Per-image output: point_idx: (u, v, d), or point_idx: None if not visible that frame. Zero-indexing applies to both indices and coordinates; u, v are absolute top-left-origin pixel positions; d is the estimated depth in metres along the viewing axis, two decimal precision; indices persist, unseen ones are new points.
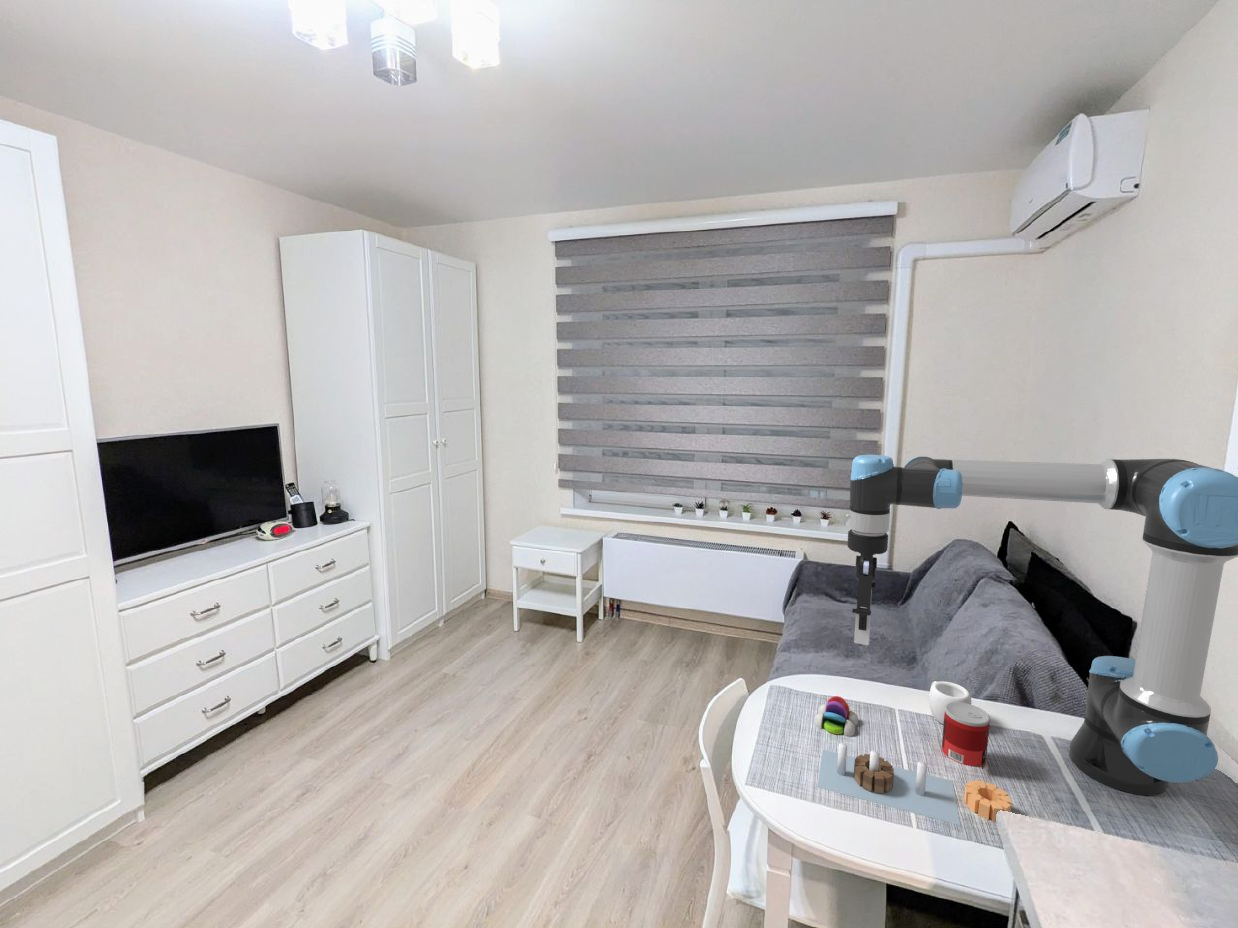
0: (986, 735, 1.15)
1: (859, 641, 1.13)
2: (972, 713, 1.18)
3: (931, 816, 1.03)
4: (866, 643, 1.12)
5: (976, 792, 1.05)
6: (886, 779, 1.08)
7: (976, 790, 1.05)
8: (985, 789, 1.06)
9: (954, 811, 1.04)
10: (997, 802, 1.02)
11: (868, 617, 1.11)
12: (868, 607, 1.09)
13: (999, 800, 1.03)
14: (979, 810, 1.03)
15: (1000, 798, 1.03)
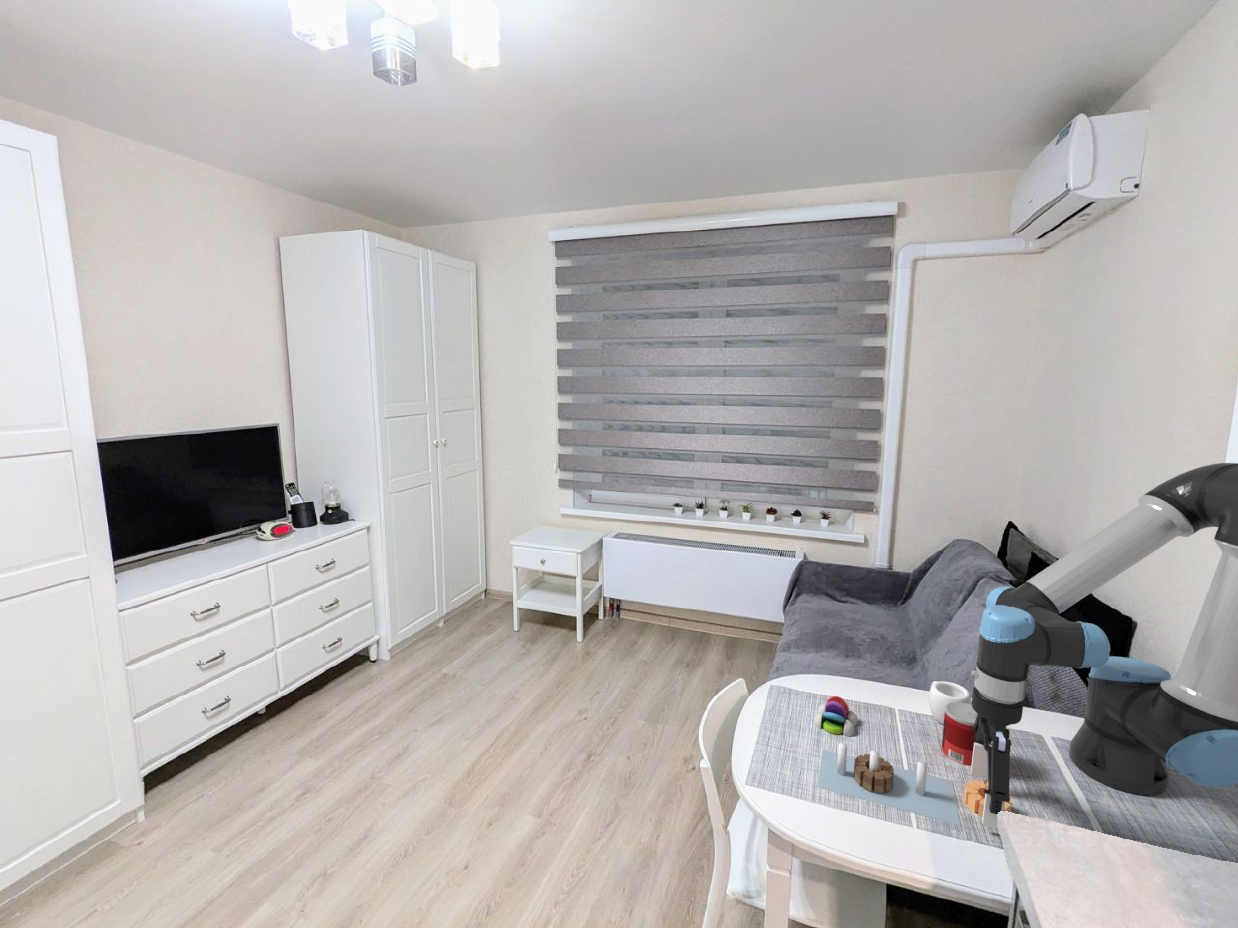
0: None
1: (989, 824, 0.98)
2: (972, 713, 1.18)
3: (931, 816, 1.03)
4: None
5: (976, 792, 1.05)
6: (886, 779, 1.08)
7: (976, 790, 1.05)
8: None
9: (954, 811, 1.04)
10: None
11: None
12: (1006, 793, 0.94)
13: None
14: (979, 810, 1.03)
15: None
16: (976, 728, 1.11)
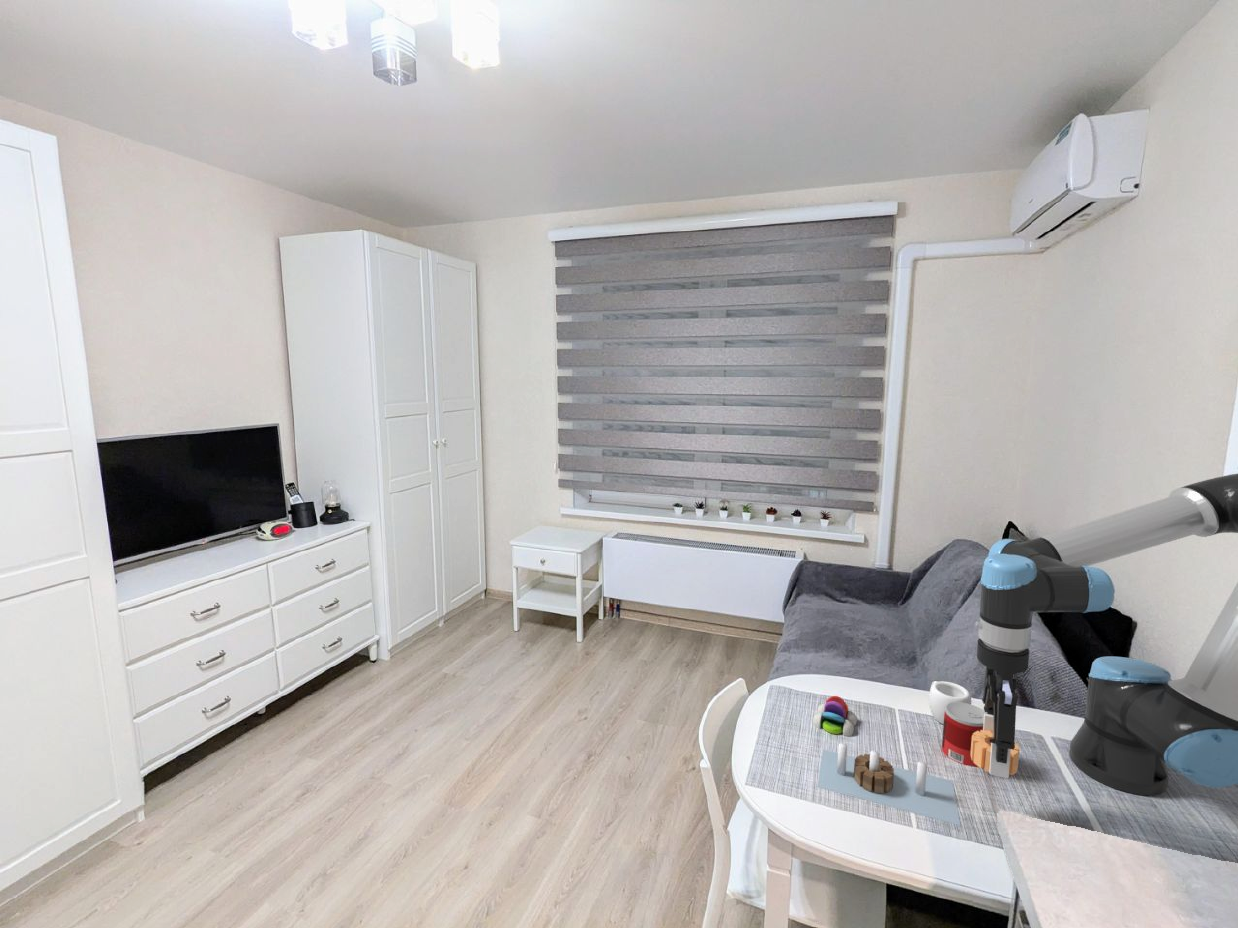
0: None
1: (996, 773, 1.00)
2: (972, 713, 1.18)
3: (931, 816, 1.03)
4: (1005, 776, 0.99)
5: (983, 741, 1.03)
6: (886, 779, 1.08)
7: (983, 739, 1.04)
8: (992, 738, 1.04)
9: (954, 811, 1.04)
10: None
11: None
12: (1012, 742, 0.95)
13: None
14: (986, 758, 1.01)
15: None
16: (985, 696, 1.08)
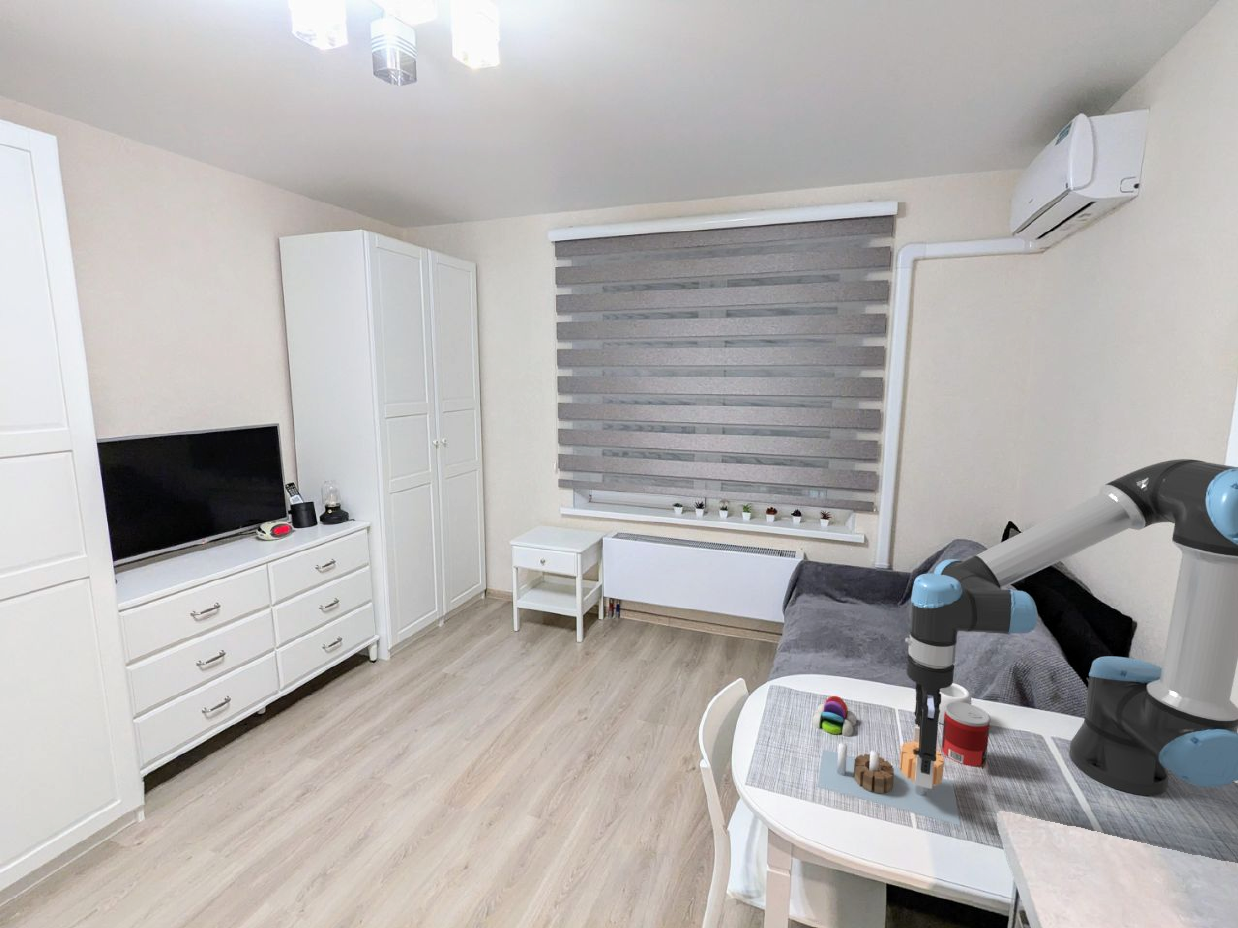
0: (986, 735, 1.15)
1: (921, 783, 1.04)
2: (972, 713, 1.18)
3: (931, 816, 1.03)
4: (929, 786, 1.03)
5: (911, 752, 1.08)
6: (886, 779, 1.08)
7: (911, 750, 1.08)
8: None
9: (954, 811, 1.04)
10: None
11: None
12: (933, 754, 1.00)
13: None
14: (912, 768, 1.05)
15: None
16: (917, 709, 1.12)
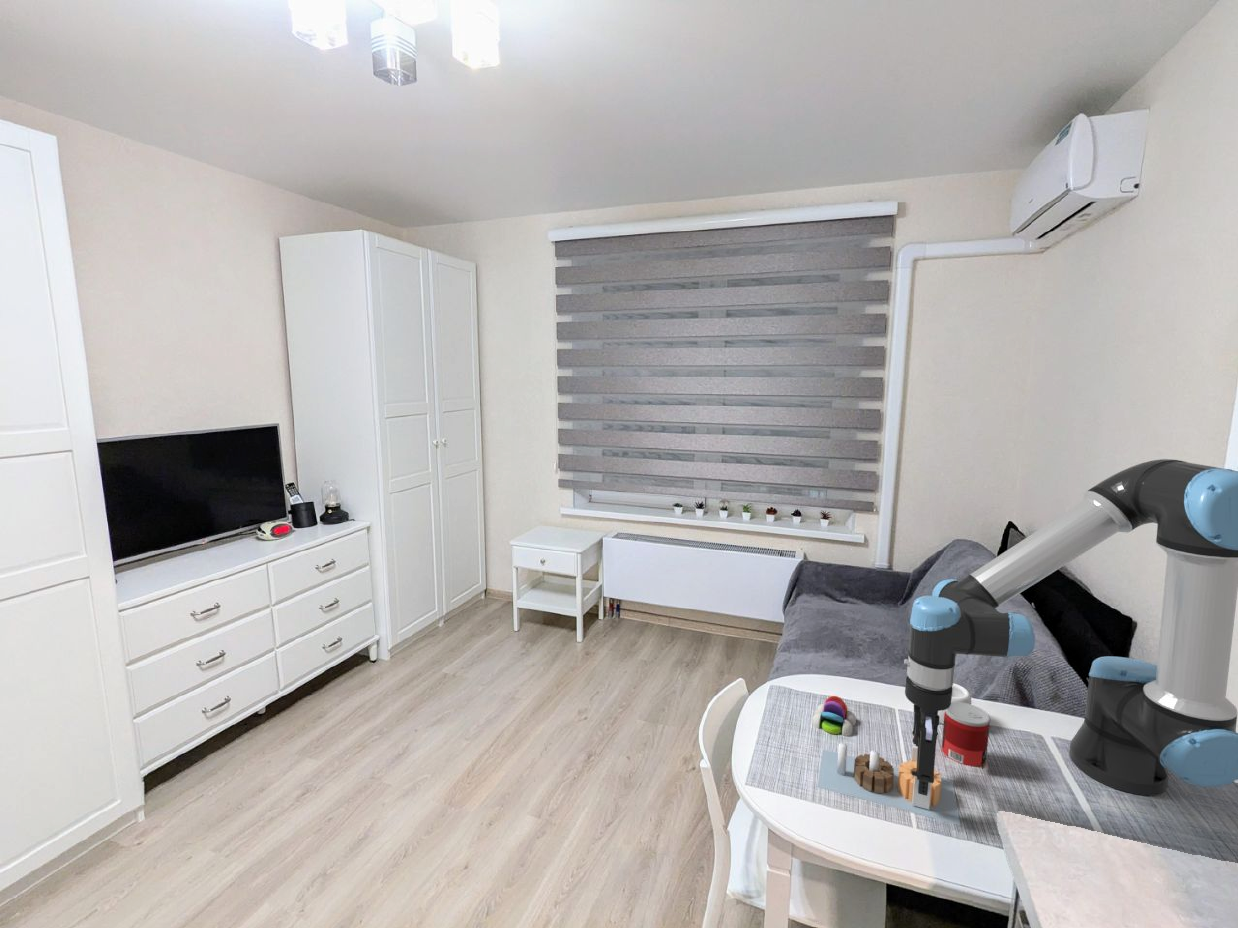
0: (986, 735, 1.15)
1: (918, 804, 1.05)
2: (972, 713, 1.18)
3: (931, 816, 1.03)
4: (926, 807, 1.04)
5: (908, 772, 1.08)
6: (886, 779, 1.08)
7: (909, 770, 1.09)
8: None
9: (954, 811, 1.04)
10: None
11: None
12: (931, 776, 1.00)
13: None
14: (910, 789, 1.06)
15: None
16: (915, 728, 1.13)
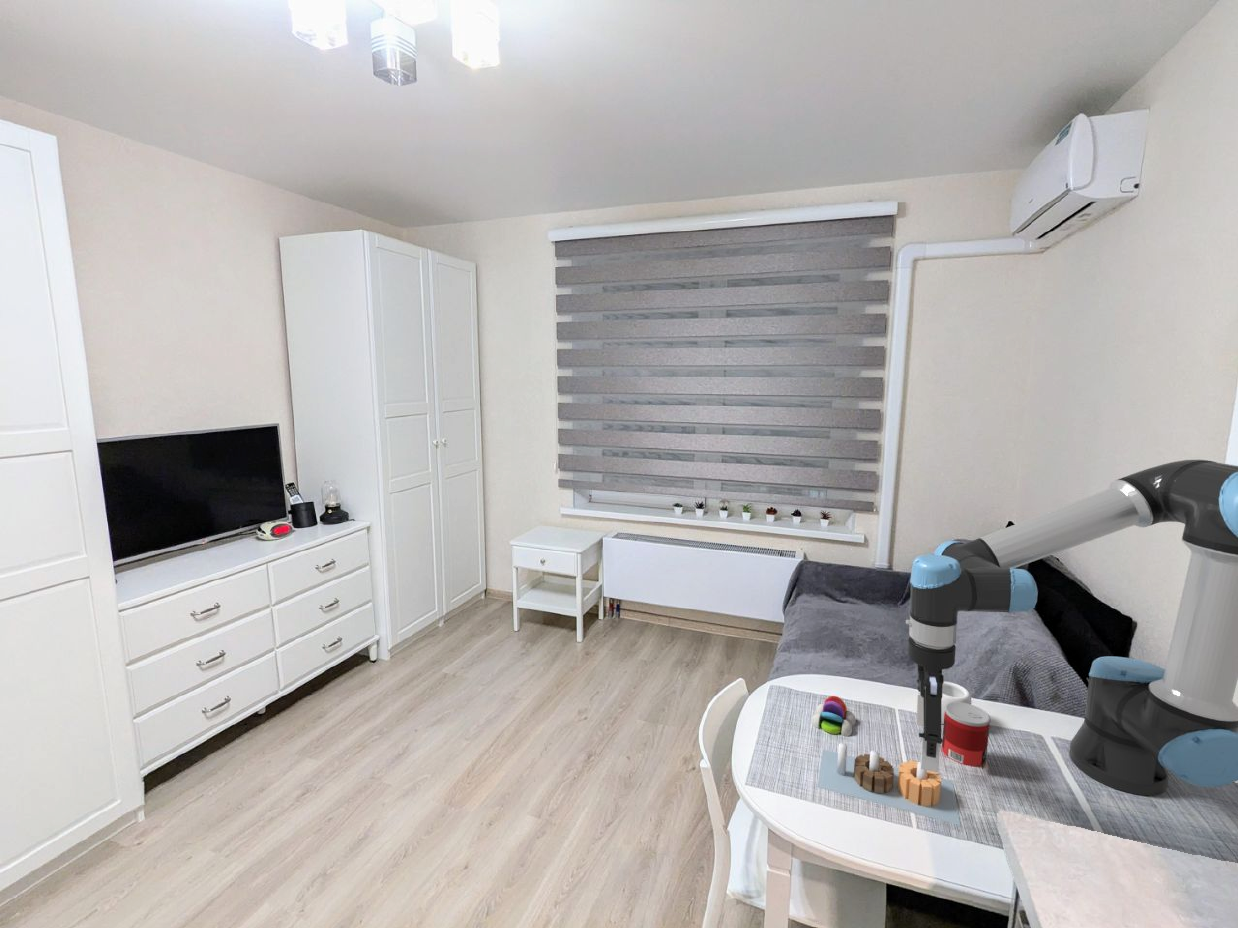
0: (986, 735, 1.15)
1: (927, 767, 1.00)
2: (972, 713, 1.18)
3: (931, 816, 1.03)
4: (935, 770, 1.00)
5: (908, 772, 1.08)
6: (886, 779, 1.08)
7: (909, 770, 1.09)
8: None
9: (954, 811, 1.04)
10: (927, 781, 1.06)
11: None
12: (939, 734, 0.96)
13: (929, 779, 1.06)
14: (910, 789, 1.06)
15: (931, 777, 1.07)
16: None
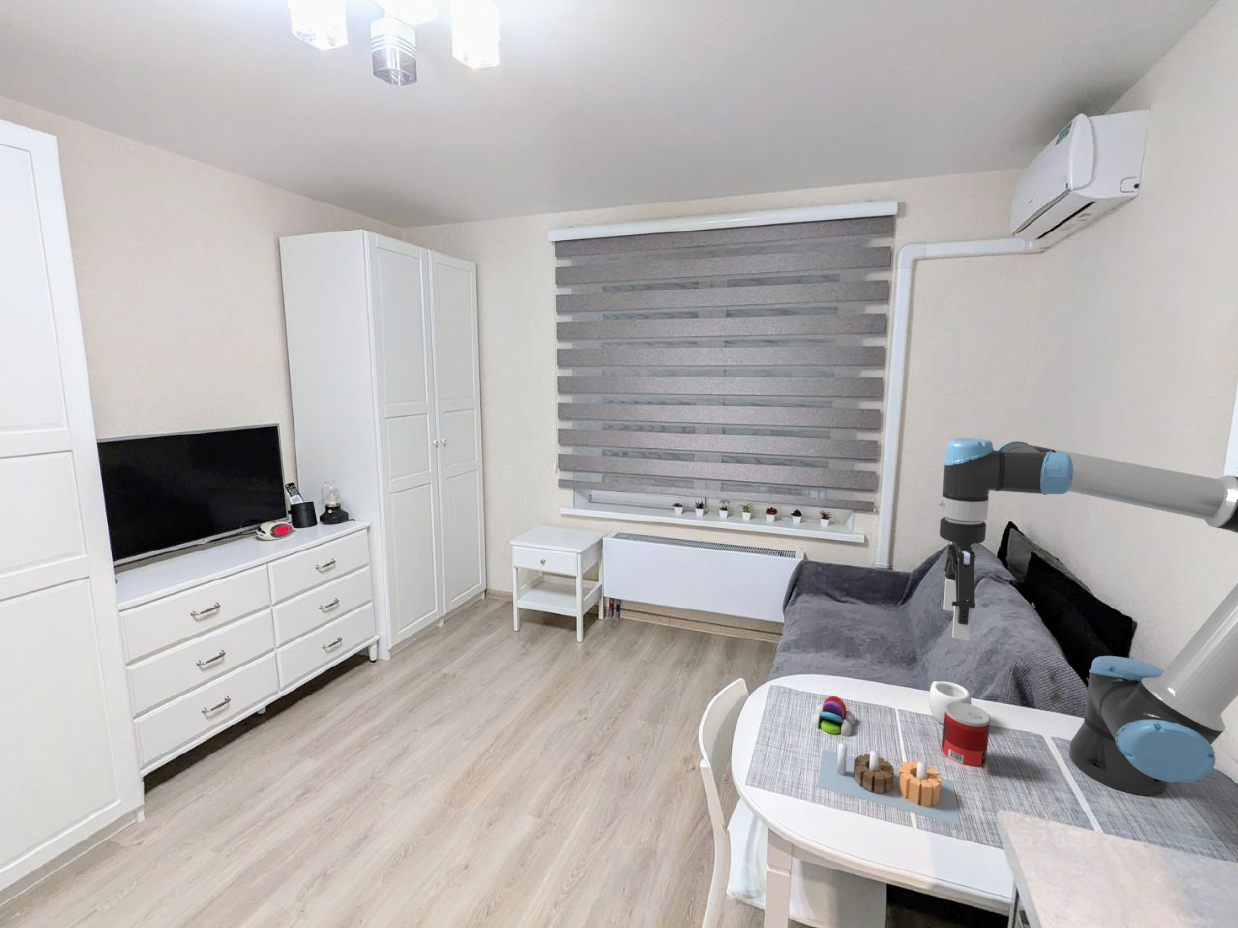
0: (986, 735, 1.15)
1: (958, 636, 1.06)
2: (972, 713, 1.18)
3: (931, 816, 1.03)
4: (967, 638, 1.06)
5: (908, 772, 1.08)
6: (886, 779, 1.08)
7: (909, 770, 1.09)
8: None
9: (954, 811, 1.04)
10: (927, 781, 1.06)
11: (969, 610, 1.05)
12: (972, 599, 1.02)
13: (929, 779, 1.06)
14: (910, 789, 1.06)
15: (931, 777, 1.07)
16: (947, 566, 1.19)
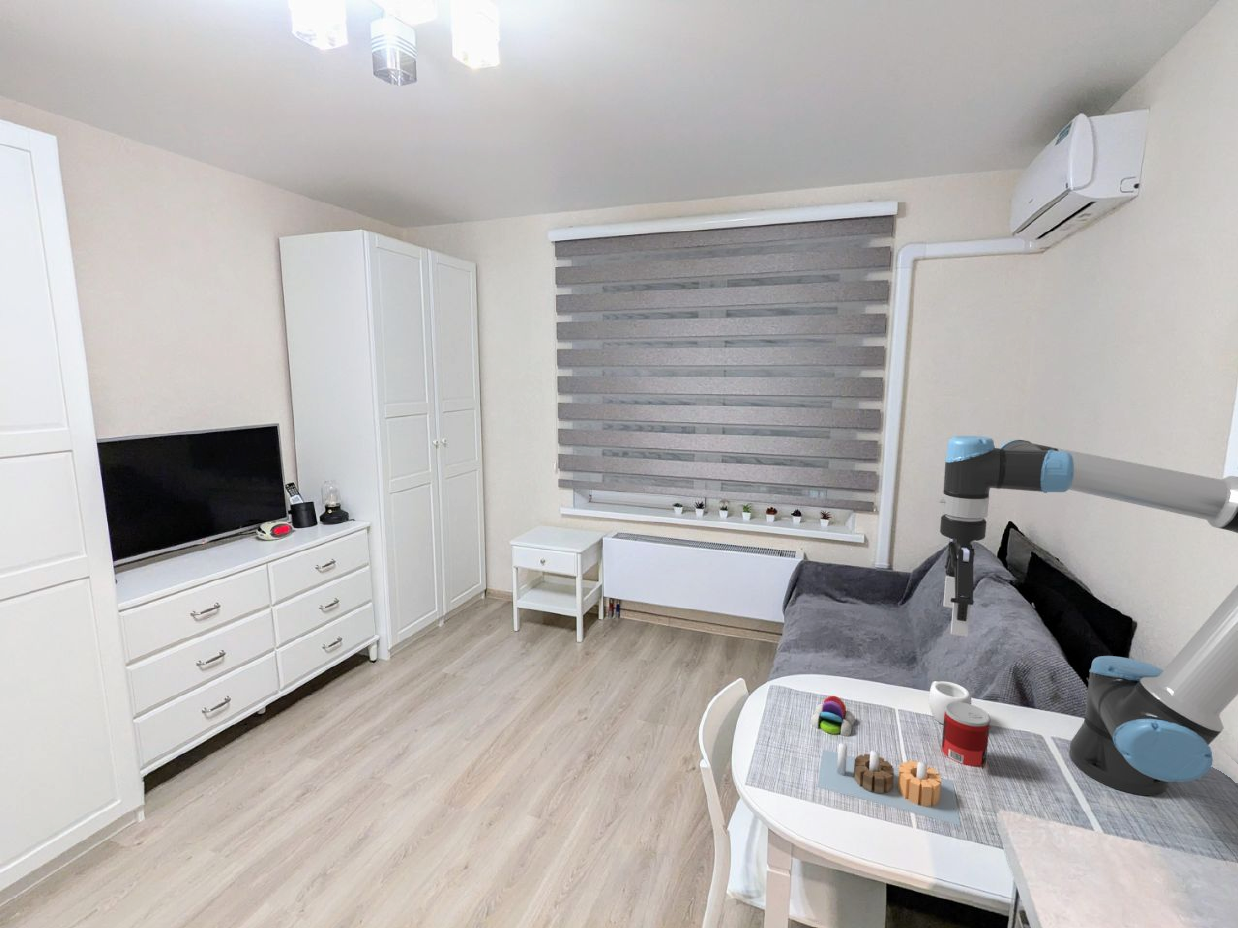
0: (986, 735, 1.15)
1: (957, 632, 1.07)
2: (972, 713, 1.18)
3: (931, 816, 1.03)
4: (965, 635, 1.06)
5: (908, 772, 1.08)
6: (886, 779, 1.08)
7: (909, 770, 1.09)
8: None
9: (954, 811, 1.04)
10: (927, 781, 1.06)
11: (968, 607, 1.05)
12: (970, 596, 1.03)
13: (929, 779, 1.06)
14: (910, 789, 1.06)
15: (931, 777, 1.07)
16: (947, 564, 1.20)
